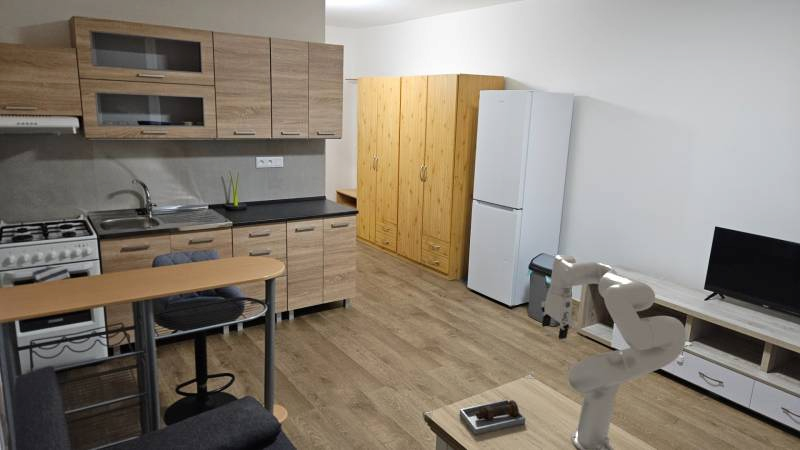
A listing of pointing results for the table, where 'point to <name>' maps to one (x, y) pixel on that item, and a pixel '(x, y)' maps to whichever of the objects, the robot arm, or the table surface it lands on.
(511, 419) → the parts tray
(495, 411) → the bolt
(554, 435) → the table surface
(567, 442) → the table surface
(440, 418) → the table surface
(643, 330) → the robot arm
